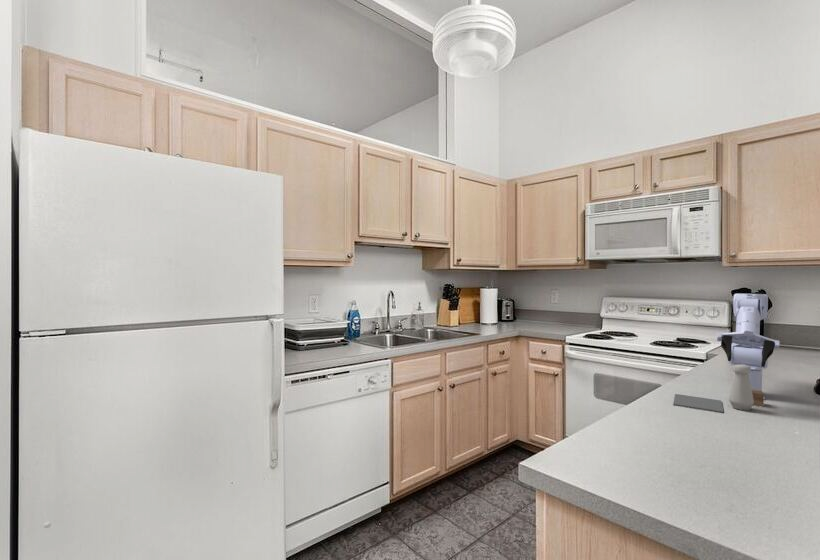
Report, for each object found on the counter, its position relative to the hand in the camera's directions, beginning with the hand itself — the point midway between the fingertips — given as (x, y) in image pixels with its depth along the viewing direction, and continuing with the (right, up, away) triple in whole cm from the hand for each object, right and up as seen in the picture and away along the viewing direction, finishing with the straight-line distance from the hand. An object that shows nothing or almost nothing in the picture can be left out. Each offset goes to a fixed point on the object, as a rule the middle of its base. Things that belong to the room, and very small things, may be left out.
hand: (746, 361), depth 119 cm
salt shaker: (-1, -14, +1) cm, 14 cm away
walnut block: (+7, -14, +5) cm, 17 cm away
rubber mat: (-11, -14, +5) cm, 18 cm away
